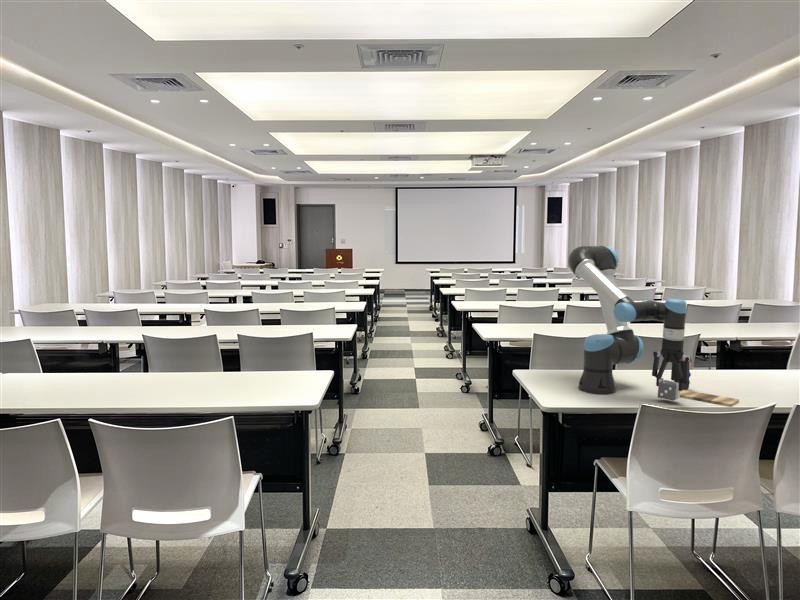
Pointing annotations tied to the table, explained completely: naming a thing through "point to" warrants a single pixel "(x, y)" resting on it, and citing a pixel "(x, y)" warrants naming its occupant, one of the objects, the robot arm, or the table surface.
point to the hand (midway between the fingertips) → (668, 396)
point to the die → (667, 390)
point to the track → (708, 398)
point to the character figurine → (674, 374)
